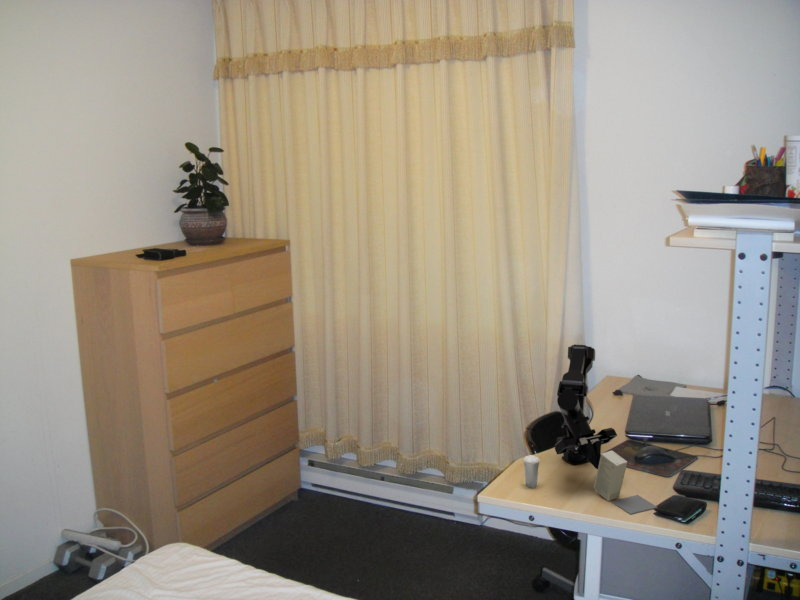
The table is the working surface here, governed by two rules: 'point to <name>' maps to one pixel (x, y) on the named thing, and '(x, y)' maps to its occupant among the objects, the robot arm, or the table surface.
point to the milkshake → (531, 470)
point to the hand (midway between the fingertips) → (598, 468)
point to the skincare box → (610, 475)
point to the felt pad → (634, 504)
